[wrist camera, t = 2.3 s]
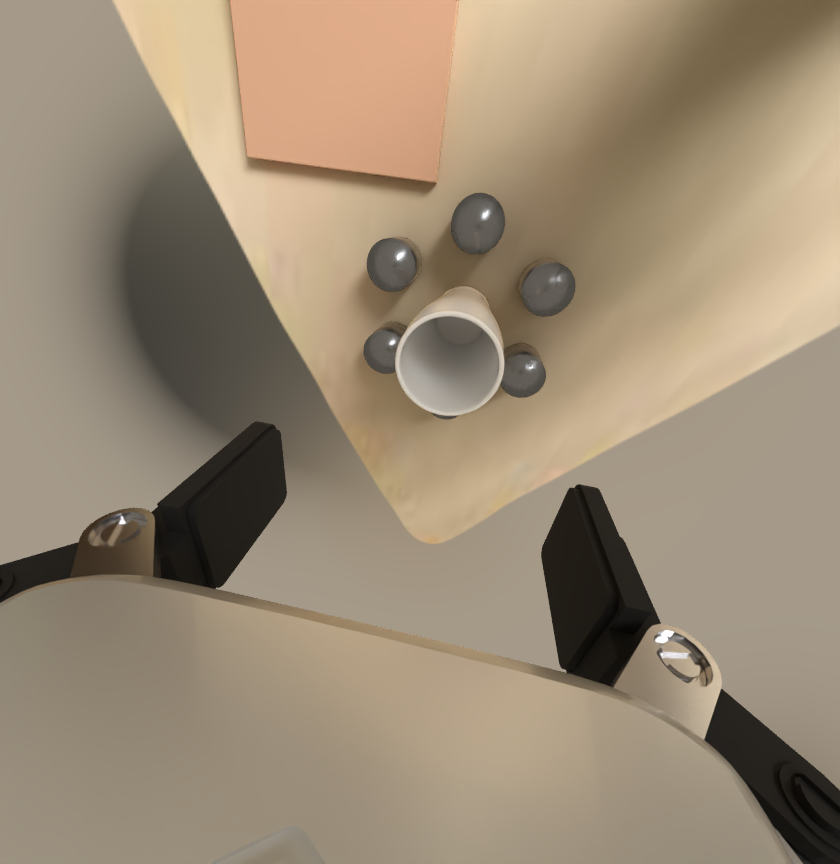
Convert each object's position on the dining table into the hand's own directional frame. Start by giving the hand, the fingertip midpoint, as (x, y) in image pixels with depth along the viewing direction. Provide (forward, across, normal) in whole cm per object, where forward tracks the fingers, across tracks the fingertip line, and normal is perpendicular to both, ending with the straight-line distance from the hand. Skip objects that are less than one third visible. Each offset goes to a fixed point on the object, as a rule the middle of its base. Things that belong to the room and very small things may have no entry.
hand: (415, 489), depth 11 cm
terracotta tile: (+26, +12, -18) cm, 34 cm away
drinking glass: (+26, 0, 0) cm, 26 cm away
